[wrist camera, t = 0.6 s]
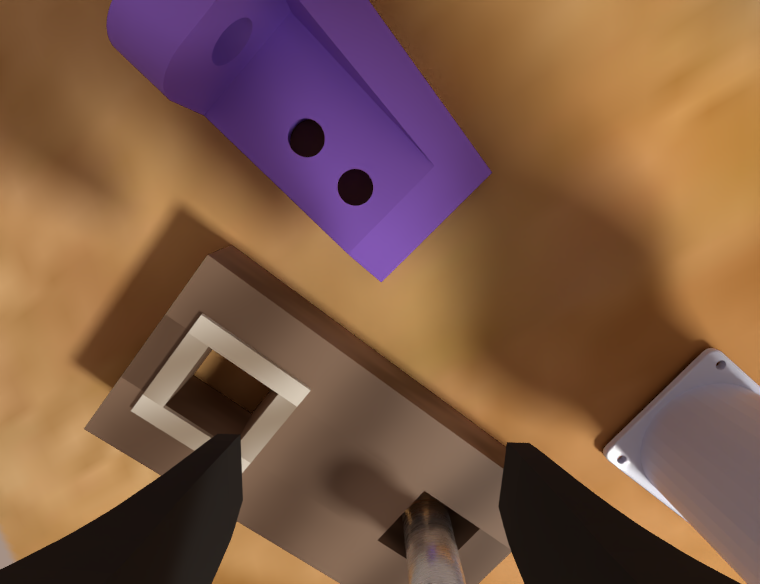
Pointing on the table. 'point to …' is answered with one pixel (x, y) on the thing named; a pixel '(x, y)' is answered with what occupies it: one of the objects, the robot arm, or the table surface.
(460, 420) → the board
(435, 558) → the pin
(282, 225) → the table surface
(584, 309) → the table surface
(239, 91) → the bracket
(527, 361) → the table surface
